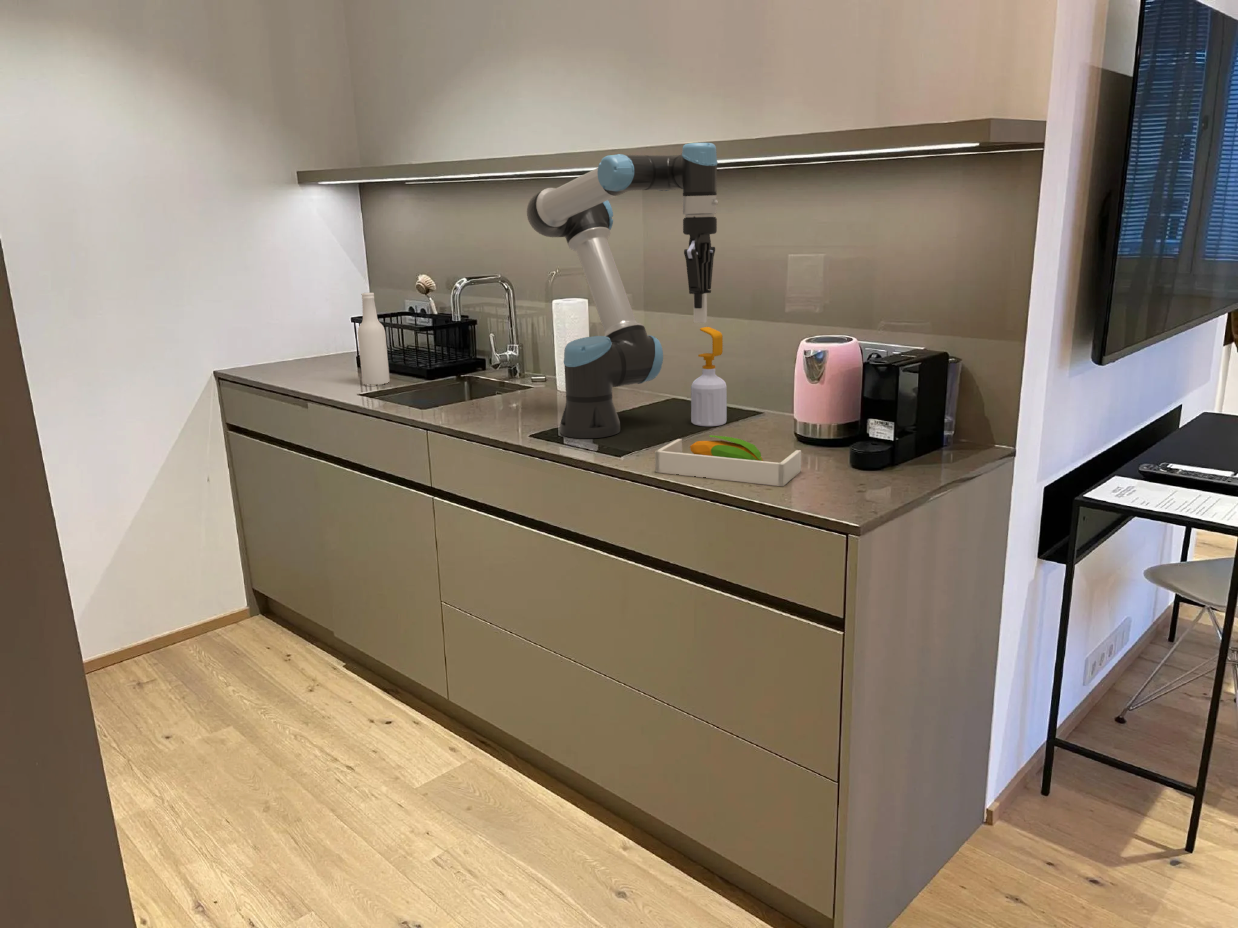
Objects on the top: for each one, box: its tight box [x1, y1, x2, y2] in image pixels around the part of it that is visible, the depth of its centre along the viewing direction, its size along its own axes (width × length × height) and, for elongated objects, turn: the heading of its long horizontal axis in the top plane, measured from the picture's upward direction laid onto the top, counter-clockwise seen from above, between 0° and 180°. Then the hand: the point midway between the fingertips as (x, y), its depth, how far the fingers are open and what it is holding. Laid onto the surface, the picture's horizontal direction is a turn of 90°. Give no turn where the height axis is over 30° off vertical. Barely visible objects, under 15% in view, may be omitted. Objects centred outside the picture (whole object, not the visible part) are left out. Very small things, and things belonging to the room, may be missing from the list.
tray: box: [654, 438, 802, 487], centre depth 195 cm, size 28×12×4 cm, turn 63°
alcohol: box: [357, 292, 391, 385], centre depth 306 cm, size 9×9×30 cm
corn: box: [689, 434, 764, 461], centre depth 196 cm, size 7×8×20 cm
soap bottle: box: [690, 326, 728, 427], centre depth 238 cm, size 9×9×25 cm
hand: (700, 322), depth 214 cm, fingers closed
